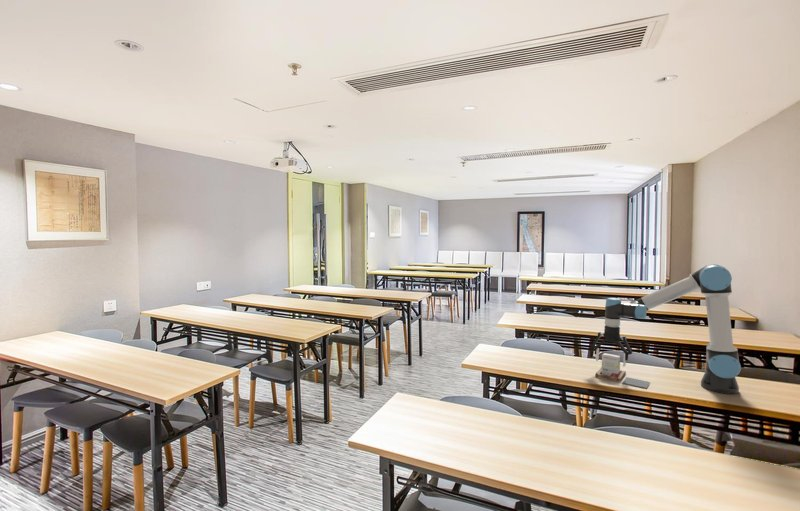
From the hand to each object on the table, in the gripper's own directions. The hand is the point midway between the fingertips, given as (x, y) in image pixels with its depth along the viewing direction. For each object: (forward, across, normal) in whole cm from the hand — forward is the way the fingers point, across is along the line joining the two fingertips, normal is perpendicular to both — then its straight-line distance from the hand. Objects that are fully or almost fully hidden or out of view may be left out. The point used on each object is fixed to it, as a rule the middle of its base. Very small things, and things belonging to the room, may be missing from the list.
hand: (610, 363), depth 215 cm
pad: (+7, -13, +4) cm, 16 cm away
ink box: (+7, 0, 0) cm, 7 cm away
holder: (+7, 0, 0) cm, 7 cm away
